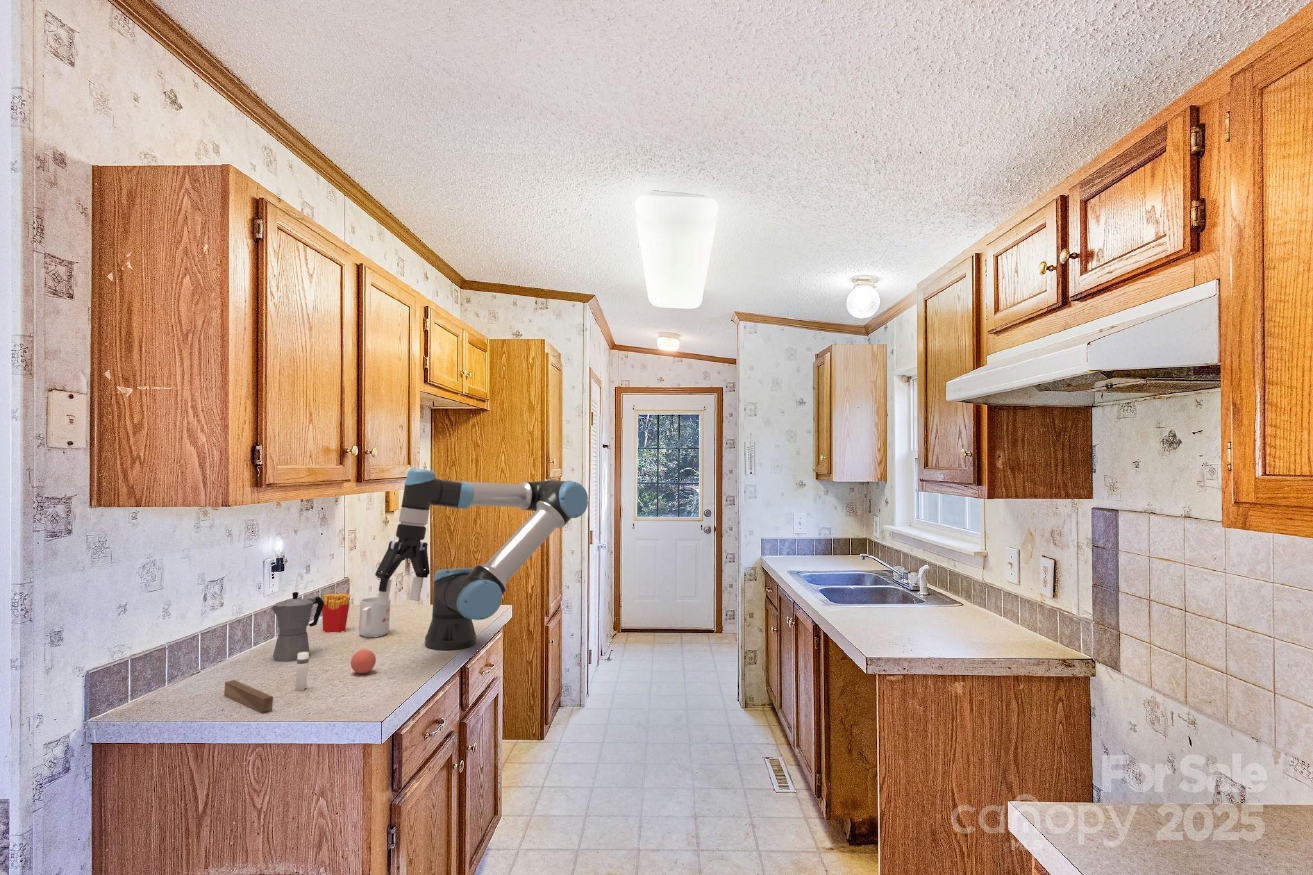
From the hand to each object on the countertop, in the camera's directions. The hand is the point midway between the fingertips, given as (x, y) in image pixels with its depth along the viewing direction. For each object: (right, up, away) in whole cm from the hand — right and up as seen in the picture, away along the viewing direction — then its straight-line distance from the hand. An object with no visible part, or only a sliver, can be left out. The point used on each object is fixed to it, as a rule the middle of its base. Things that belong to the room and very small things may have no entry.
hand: (398, 602), depth 176 cm
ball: (-6, -14, -7) cm, 17 cm away
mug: (-21, -19, +30) cm, 41 cm away
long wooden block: (-22, -15, -30) cm, 40 cm away
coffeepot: (-32, -17, +6) cm, 36 cm away
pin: (-15, -16, -20) cm, 30 cm away
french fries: (-34, -18, +34) cm, 52 cm away
